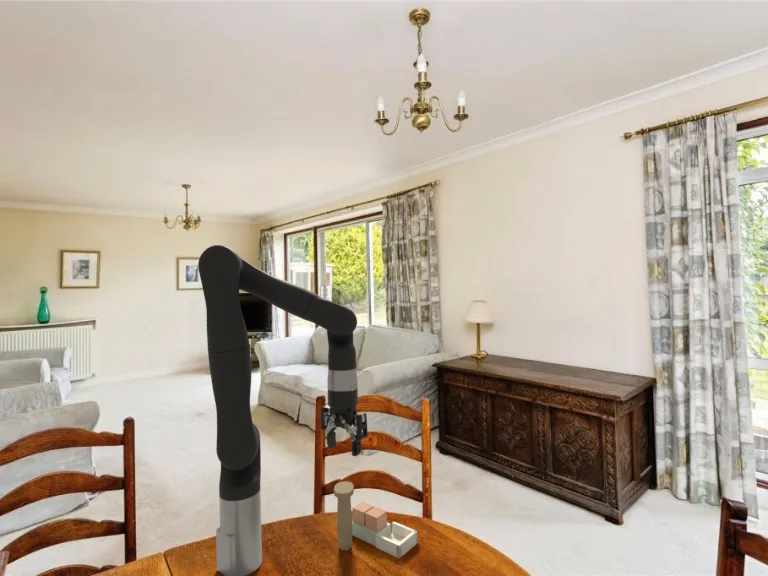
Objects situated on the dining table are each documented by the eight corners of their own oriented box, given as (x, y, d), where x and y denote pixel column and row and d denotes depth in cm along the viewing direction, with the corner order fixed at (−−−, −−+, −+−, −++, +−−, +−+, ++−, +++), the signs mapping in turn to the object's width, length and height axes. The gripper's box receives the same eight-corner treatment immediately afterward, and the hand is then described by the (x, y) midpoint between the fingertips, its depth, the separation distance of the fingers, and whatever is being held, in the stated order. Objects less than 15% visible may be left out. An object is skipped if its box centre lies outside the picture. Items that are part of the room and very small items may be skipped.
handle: (334, 556, 100) (332, 493, 100) (336, 540, 107) (335, 481, 107) (354, 555, 100) (352, 493, 100) (355, 539, 107) (354, 481, 107)
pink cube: (363, 526, 107) (363, 512, 107) (352, 521, 110) (352, 507, 110) (373, 519, 111) (373, 506, 111) (362, 514, 113) (362, 501, 113)
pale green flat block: (376, 546, 103) (376, 534, 104) (350, 534, 109) (350, 522, 109) (391, 535, 108) (390, 523, 108) (365, 524, 114) (365, 513, 114)
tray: (399, 558, 99) (399, 545, 99) (375, 547, 103) (375, 535, 103) (417, 543, 104) (417, 531, 105) (394, 533, 109) (394, 521, 109)
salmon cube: (377, 531, 105) (376, 518, 105) (365, 526, 107) (365, 513, 107) (387, 524, 108) (386, 511, 108) (375, 519, 110) (375, 506, 110)
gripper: (312, 385, 106) (313, 449, 105) (352, 393, 97) (354, 463, 96) (333, 380, 111) (334, 441, 111) (373, 387, 102) (375, 453, 102)
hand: (343, 451), depth 104 cm, fingers open, 8 cm apart
